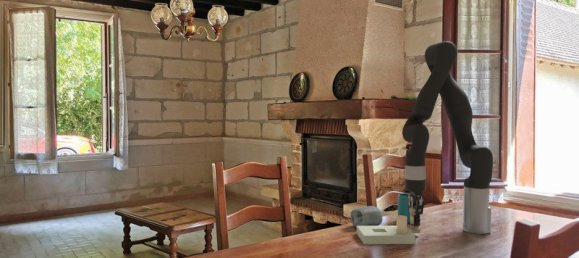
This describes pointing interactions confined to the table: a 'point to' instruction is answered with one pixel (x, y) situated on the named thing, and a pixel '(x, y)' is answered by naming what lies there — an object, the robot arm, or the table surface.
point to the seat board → (387, 233)
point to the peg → (413, 227)
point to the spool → (366, 216)
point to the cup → (403, 206)
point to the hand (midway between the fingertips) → (415, 223)
